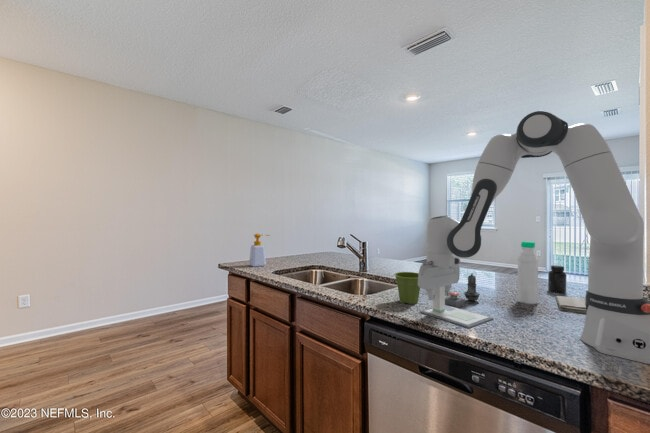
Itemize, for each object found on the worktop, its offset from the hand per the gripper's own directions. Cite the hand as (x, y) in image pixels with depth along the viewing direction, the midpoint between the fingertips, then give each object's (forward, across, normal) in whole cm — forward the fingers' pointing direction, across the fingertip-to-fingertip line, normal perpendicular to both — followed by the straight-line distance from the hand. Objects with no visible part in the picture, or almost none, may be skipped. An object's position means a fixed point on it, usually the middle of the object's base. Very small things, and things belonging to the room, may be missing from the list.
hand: (438, 297), depth 112 cm
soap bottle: (+6, -14, +133) cm, 134 cm away
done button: (+4, +14, +3) cm, 15 cm away
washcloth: (+6, +51, -26) cm, 58 cm away
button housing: (+6, +14, +3) cm, 15 cm away
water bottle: (+6, +42, -12) cm, 45 cm away
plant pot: (+6, +2, +16) cm, 17 cm away
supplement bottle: (+6, +74, -12) cm, 75 cm away
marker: (+5, 0, 0) cm, 5 cm away
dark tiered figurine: (+6, +24, +1) cm, 24 cm away
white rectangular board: (+6, +2, -5) cm, 8 cm away
